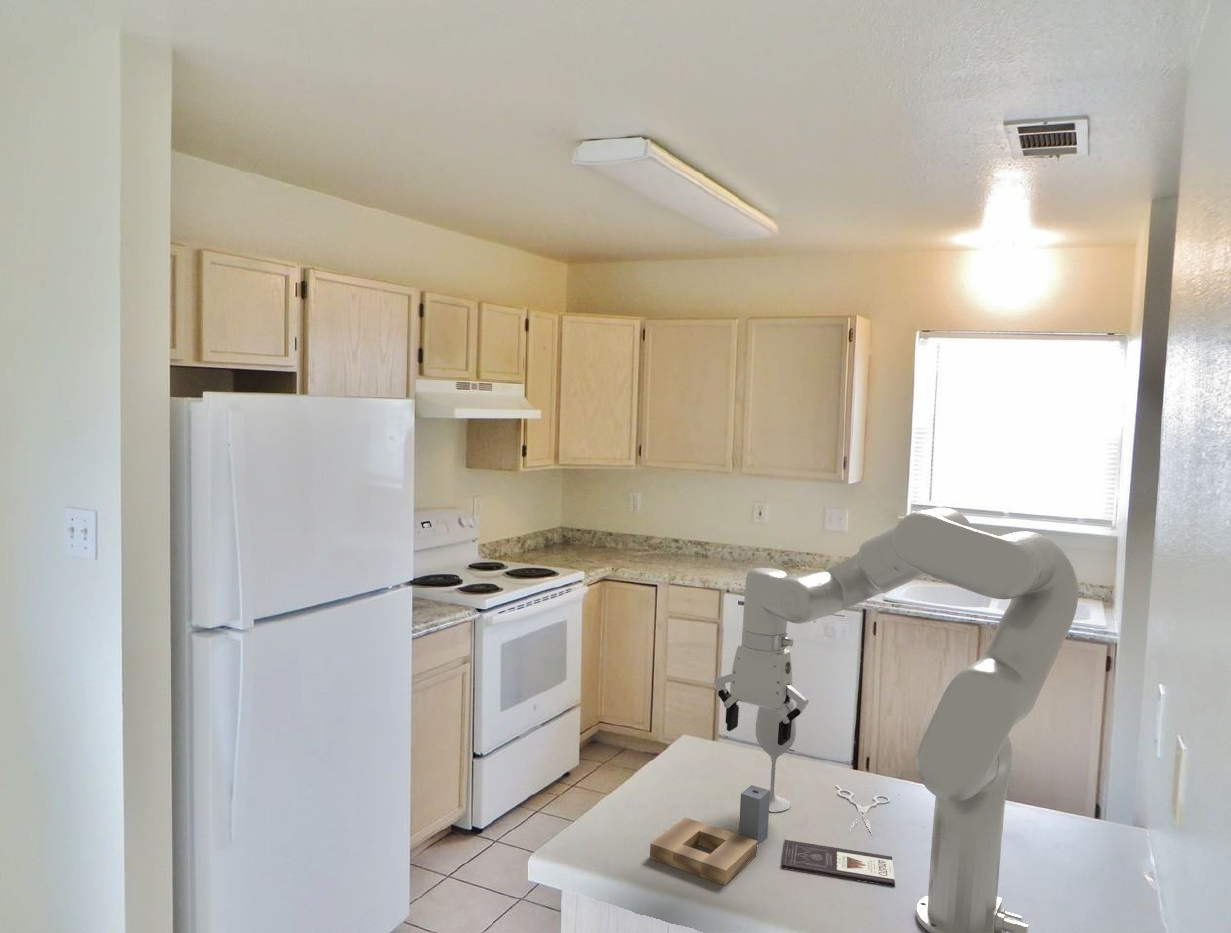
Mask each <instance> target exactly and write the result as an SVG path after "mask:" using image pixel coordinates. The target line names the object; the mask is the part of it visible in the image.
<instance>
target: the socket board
mask: <svg viewBox="0 0 1231 933" xmlns="http://www.w3.org/2000/svg"><path fill="white" fill-rule="evenodd" d="M649 844H650V847H649V848H650V849H649V858H650V859H653V860H655V861H658V862H660V863H662V864H666V865H667V866H671V867H673V868H677V869H680V870H682V871H685V872H688V873H690V874H692V875H695V876H698V877H701V878H703V879H706V880H708V881H711V880H712V881H711V882H714V881H715V882H714V883H717V882H718V883H717V884H720V883H721V884H720V885H722V884H724V885H723V886H727V885H728V884H729V883H730V882H731V881H732V880H733V879H734V878H735V877H736V876H737V875H738V874H739V873H740V872H741V871H742V870H743V869H744V868H745V867H746V866H747V865H748V864H749V863H750V862H751V861H752V860H753V859H752V858H753V857H754V856H756V854H757V855H758V847H757V844H758V841H756V840H753V839H750V838H747V837H744V836H741V835H739V833H734V832H731V831H728V830H725V829H722V828H719V827H716V826H713V825H710V824H708V823H704V822H700V821H698V820H695V819H692V818H689V817H686V816H685V817H683V818H682V819H681V820H679V821H678V822H677V823H675V824H674V825H673V826H671V827H670V828H669V829H667V830H666V831H664V833H663V834H661V835H660V836H658V837H657V838H656V839H654V840H653V841H652V842H651V843H649ZM698 846H700V847H704V848H707V849H709V850H711V851H712V852H711V853H708V852H705V851H702V850H700V849H696V848H697V847H698ZM756 857H757V856H756ZM751 859H752V860H751ZM750 860H751V861H750ZM749 861H750V862H749ZM748 862H749V863H748ZM747 863H748V864H747ZM746 864H747V865H746ZM745 865H746V866H745ZM744 866H745V867H744ZM743 867H744V868H743ZM742 868H743V869H742ZM741 869H742V870H741ZM740 870H741V871H740ZM739 871H740V872H739ZM738 872H739V873H738ZM737 873H738V874H737ZM736 874H737V875H736ZM735 875H736V876H735ZM734 876H735V877H734ZM733 877H734V878H733ZM730 880H731V881H730ZM729 881H730V882H729ZM728 882H729V883H728ZM727 883H728V884H727ZM726 884H727V885H726Z"/></svg>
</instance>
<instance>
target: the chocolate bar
mask: <svg viewBox="0 0 1231 933" xmlns="http://www.w3.org/2000/svg"><path fill="white" fill-rule="evenodd" d="M783 842H784V843H783V851H782V857H781V858H782V860H781V865H780V866H781V867H782V868H781V869H785V868H787V870H791V869H793V871H797V870H798V872H805V873H811V874H815V875H816V874H817V875H822V876H827V877H835V878H839V879H846V880H851V881H857V880H860V881H859V882H863V881H867V882H866V883H869V882H873V883H872V884H875V883H879V884H878V885H882V886H888V887H896V881H895V871H894V863H893V856H890V855H884V854H878V853H871V852H866V851H865V852H864V851H858V850H853V849H846V848H839V847H833V846H827V845H819V844H816V843H815V844H814V843H807V842H801V841H796V840H789V839H784V841H783Z"/></svg>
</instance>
